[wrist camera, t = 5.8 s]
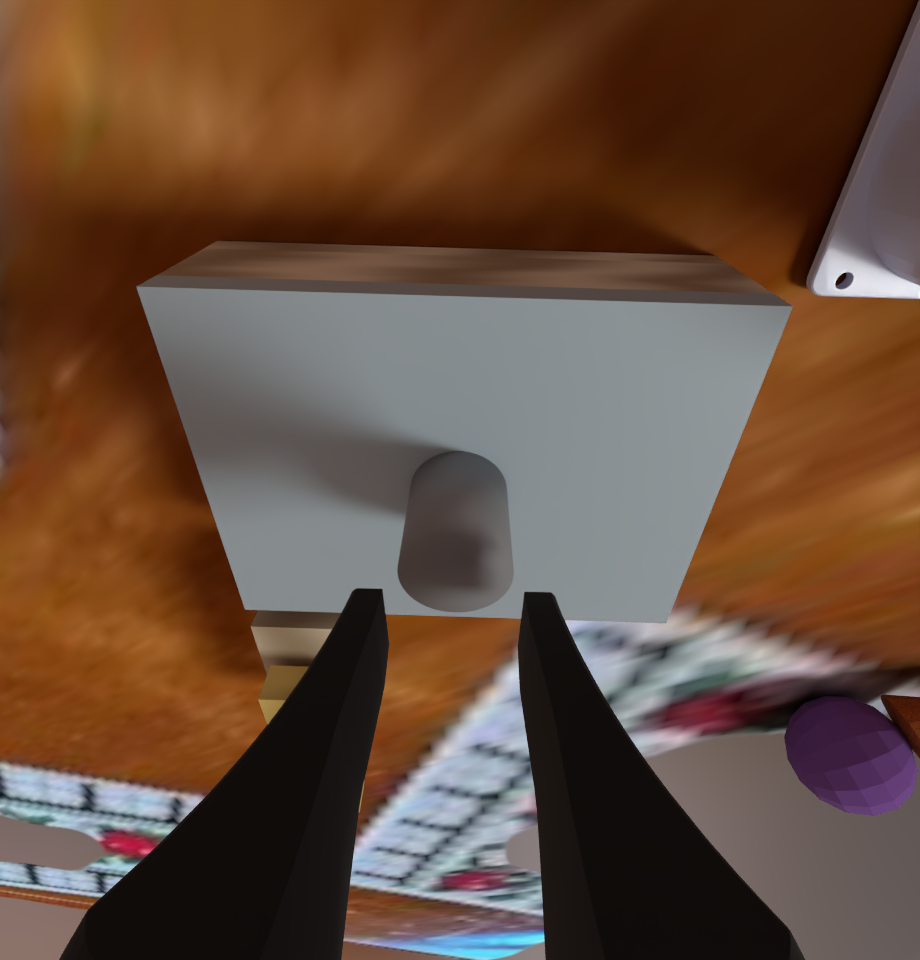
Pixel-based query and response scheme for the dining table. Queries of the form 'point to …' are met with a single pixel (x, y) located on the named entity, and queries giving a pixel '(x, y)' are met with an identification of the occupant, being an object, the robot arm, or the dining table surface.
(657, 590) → the lid
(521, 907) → the dining table surface
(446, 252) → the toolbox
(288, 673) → the yellow rectangular block
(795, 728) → the kendama
